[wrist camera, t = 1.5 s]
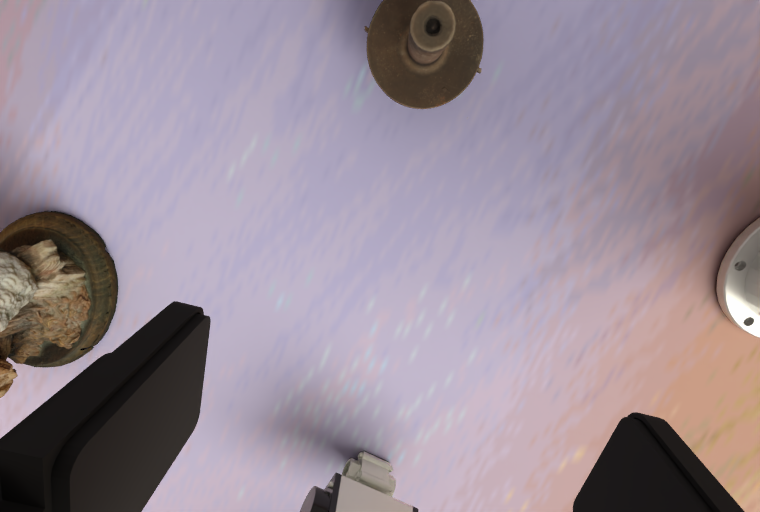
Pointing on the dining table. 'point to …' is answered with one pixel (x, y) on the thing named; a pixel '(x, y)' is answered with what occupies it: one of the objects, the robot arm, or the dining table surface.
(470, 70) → the industrial component
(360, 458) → the pneumatic valve
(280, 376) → the dining table surface
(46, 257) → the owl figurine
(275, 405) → the dining table surface
